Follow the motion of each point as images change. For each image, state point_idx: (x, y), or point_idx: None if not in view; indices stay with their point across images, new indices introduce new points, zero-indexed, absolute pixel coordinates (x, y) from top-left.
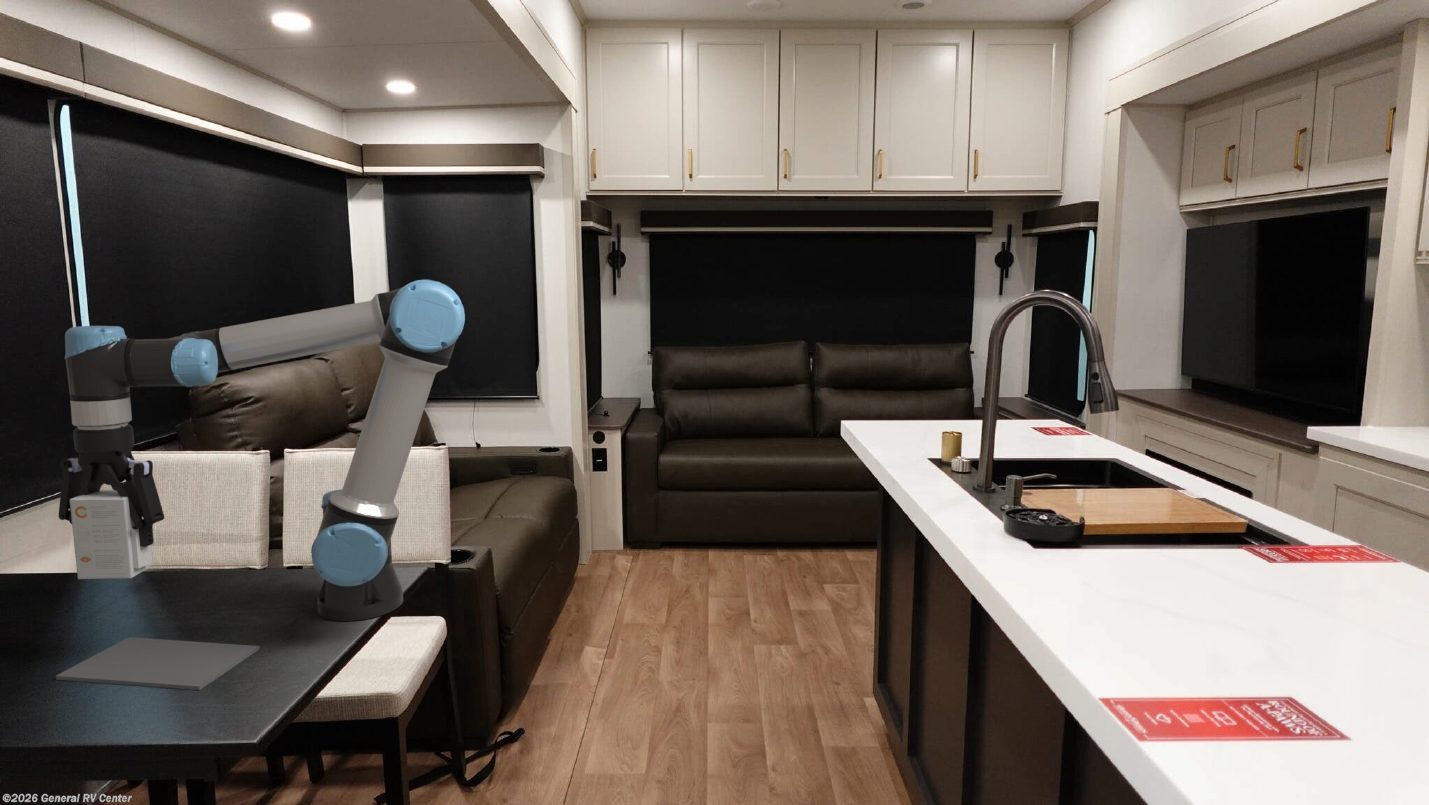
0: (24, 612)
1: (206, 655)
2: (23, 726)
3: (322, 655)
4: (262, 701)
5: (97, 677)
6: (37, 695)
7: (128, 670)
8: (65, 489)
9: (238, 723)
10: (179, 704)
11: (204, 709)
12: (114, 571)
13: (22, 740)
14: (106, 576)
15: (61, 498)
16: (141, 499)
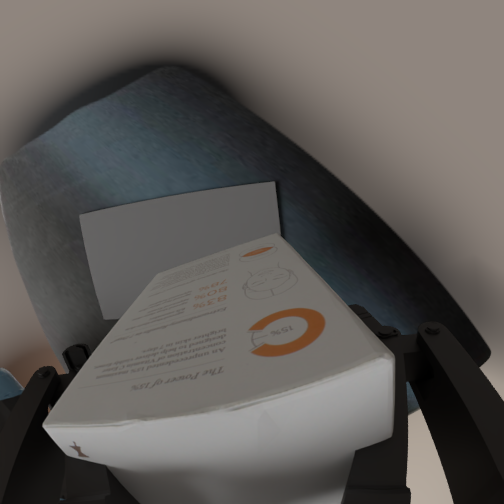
0: (451, 310)
1: (136, 284)
2: (197, 87)
3: (46, 317)
4: (22, 218)
5: (214, 193)
6: (255, 143)
7: (192, 220)
8: (487, 413)
9: (16, 178)
10: (77, 182)
11: (51, 184)
12: (185, 266)
13: (170, 70)
14: (207, 256)
15: (477, 373)
16: (18, 432)
